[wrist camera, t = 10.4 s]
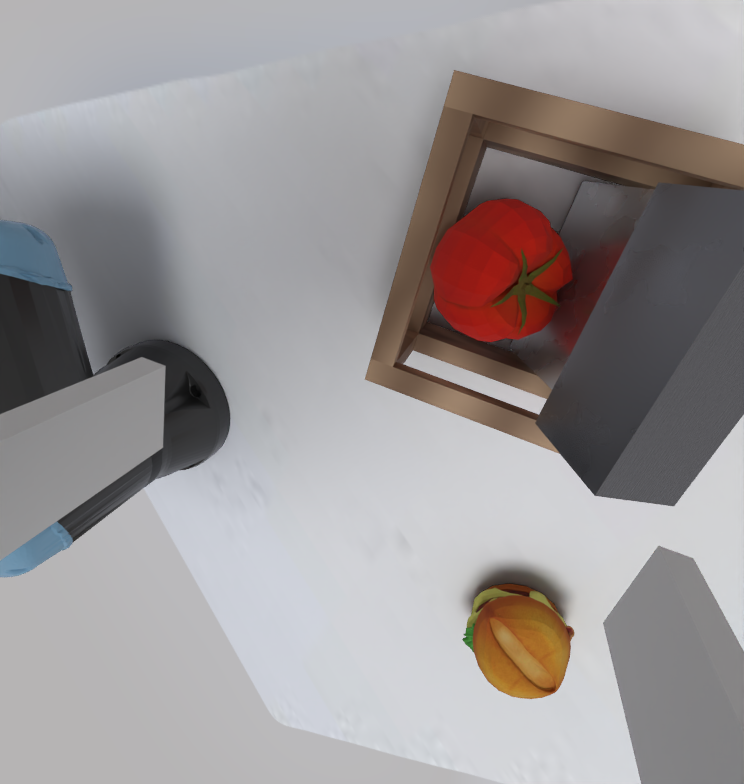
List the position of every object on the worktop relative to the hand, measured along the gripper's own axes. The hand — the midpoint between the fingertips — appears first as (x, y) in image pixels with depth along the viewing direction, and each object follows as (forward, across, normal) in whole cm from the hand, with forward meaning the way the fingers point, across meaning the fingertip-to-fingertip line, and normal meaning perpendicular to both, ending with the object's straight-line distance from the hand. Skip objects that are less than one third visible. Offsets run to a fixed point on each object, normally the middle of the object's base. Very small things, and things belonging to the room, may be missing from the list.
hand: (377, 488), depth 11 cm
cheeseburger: (+29, +16, -30) cm, 45 cm away
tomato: (+26, -1, +3) cm, 26 cm away
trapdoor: (+19, +10, +4) cm, 22 cm away
